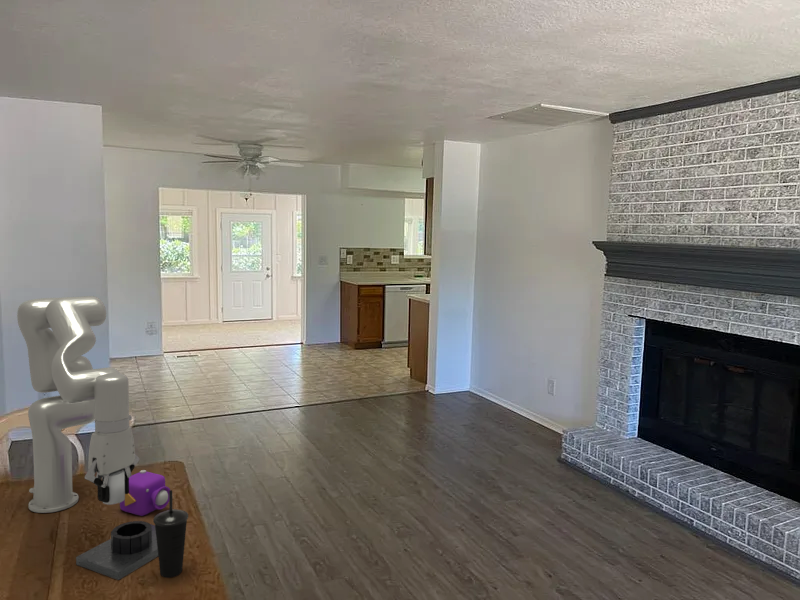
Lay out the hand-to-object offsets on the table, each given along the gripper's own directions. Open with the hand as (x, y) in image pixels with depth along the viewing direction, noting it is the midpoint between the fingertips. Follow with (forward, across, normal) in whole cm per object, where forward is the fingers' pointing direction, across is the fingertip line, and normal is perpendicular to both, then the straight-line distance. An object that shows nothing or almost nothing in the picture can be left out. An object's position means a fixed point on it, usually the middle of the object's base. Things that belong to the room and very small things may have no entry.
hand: (113, 496), depth 147 cm
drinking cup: (+15, -1, +18) cm, 24 cm away
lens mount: (+15, -2, +3) cm, 15 cm away
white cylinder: (+1, 0, 0) cm, 1 cm away
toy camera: (+15, -21, -12) cm, 29 cm away
